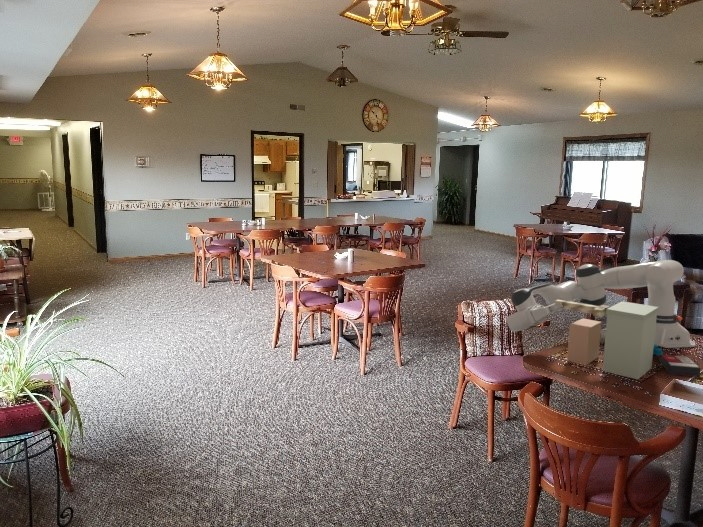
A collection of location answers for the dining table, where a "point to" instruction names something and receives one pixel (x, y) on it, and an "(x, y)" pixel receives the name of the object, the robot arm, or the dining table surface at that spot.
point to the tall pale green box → (629, 339)
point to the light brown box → (584, 341)
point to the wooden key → (584, 308)
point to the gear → (657, 350)
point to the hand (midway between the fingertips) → (564, 303)
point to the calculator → (679, 365)
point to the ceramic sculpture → (602, 336)
